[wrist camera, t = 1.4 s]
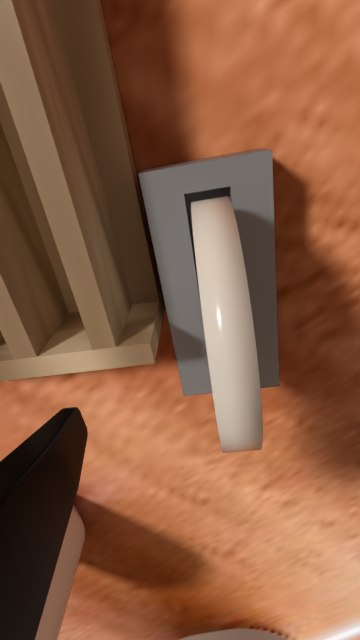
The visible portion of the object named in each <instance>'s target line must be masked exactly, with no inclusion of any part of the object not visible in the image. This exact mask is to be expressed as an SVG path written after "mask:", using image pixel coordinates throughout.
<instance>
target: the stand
mask: <svg viewBox="0 0 360 640" xmlns="http://www.w3.org/2000/svg"><path fill="white" fill-rule="evenodd" d="M138 175H139V180H140V185H141V189H142V194H143V199H144V204H145V209H146V214H147V219H148V224H149V228H150V233H151V238H152V243H153V248H154V253H155V258H156V263H157V267H158V272H159V277H160V282H161V287H162V292H163V297H164V302H165V306H166V311H167V316H168V321H169V326H170V331H171V336H172V341H173V346H174V350H175V355H176V360H177V365H178V370H179V375H180V380H181V385H182V389H183V394H184V396H188V395H198V394H208V393H212V386H211V379H210V371H209V364H208V357H207V349H206V341H205V334H204V326H203V318H202V310H201V302H200V293H199V285H198V276H197V267H196V258H195V248H194V238H193V228H192V215H191V202H195V201H201V200H207V199H213V198H219V197H225V196H228V197H229V199H230V201H231V204H232V207H233V210H234V214H235V218H236V222H237V227H238V232H239V236H240V242H241V247H242V252H243V258H244V264H245V270H246V276H247V282H248V289H249V296H250V303H251V310H252V317H253V325H254V333H255V341H256V350H257V359H258V368H259V379H260V388H266V387H276V386H279V354H278V322H277V290H276V258H275V226H274V193H273V161H272V150H271V149H255V150H249V151H244V152H238V153H233V154H227V155H221V156H216V157H210V158H205V159H199V160H194V161H188V162H183V163H177V164H172V165H166V166H160V167H155V168H149V169H146V170H144V171H142V172H140V173H138Z"/></svg>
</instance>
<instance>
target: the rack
mask: <svg viewBox="0 0 360 640" xmlns="http://www.w3.org/2000/svg"><path fill="white" fill-rule="evenodd" d="M163 315H164V305H163V300H162V295H161V291H160V286H159V281H158V276H157V271H156V266H155V262H154V257H153V252H152V247H151V242H150V238H149V233H148V228H147V223H146V218H145V213H144V209H143V204H142V199H141V194H140V189H139V185H138V180H137V175H136V170H135V165H134V160H133V156H132V151H131V146H130V141H129V136H128V132H127V127H126V122H125V117H124V112H123V108H122V103H121V98H120V93H119V88H118V83H117V79H116V74H115V69H114V64H113V59H112V55H111V50H110V45H109V40H108V35H107V30H106V26H105V21H104V16H103V11H102V6H101V2H100V0H0V381H7V380H15V379H24V378H33V377H42V376H50V375H59V374H68V373H77V372H85V371H94V370H103V369H112V368H120V367H129V366H138V365H147V364H155V360H156V355H157V349H158V343H159V338H160V332H161V326H162V321H163Z"/></svg>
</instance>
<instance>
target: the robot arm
mask: <svg viewBox="0 0 360 640" xmlns="http://www.w3.org/2000/svg"><path fill="white" fill-rule="evenodd" d="M87 434H88V433H87V427H86V425H85V422H84V420H83V417H82V415H81V412H80V410H79V409H78V408H76V407H71V408H64V409H62V410H60V411H59V412H58V413H57V414H56V415H55V416H53V417H52V418H51V419H50V420H49V421H47V422H46V423H45V424H44V425H43V426H42V427H40V428H39V429H38V430H37V431H36V432H35V433H33V434H32V435H31V436H30V437H29V438H28V439H26V440H25V441H24V442H23V443H22V444H21V445H19V446H18V447H17V448H16V449H15V450H14V451H12V452H11V453H10V454H9V455H8V456H7V457H5V458H4V459H3V460H2V461H1V462H0V640H35V638H36V634H37V631H38V627H39V624H40V620H41V617H42V613H43V610H44V606H45V603H46V599H47V596H48V593H49V589H50V586H51V582H52V579H53V575H54V572H55V568H56V565H57V561H58V558H59V554H60V551H61V547H62V544H63V540H64V537H65V533H66V530H67V526H68V523H69V519H70V516H71V512H72V509H73V505H74V502H75V498H76V494H77V491H78V486H79V481H80V476H81V470H82V464H83V459H84V453H85V447H86V442H87Z"/></svg>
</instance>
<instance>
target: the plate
mask: <svg viewBox="0 0 360 640" xmlns="http://www.w3.org/2000/svg"><path fill="white" fill-rule="evenodd" d="M191 215H192V228H193V238H194V248H195V258H196V267H197V276H198V285H199V293H200V302H201V310H202V318H203V326H204V334H205V341H206V349H207V357H208V364H209V371H210V379H211V386H212V393H213V399H214V406H215V413H216V419H217V426H218V431H219V437H220V443H221V447H222V451H223V453H229V452H241V451H253V450H261V448H262V441H263V421H262V403H261V390H260V379H259V368H258V359H257V350H256V341H255V333H254V325H253V317H252V310H251V303H250V296H249V289H248V282H247V276H246V270H245V264H244V258H243V252H242V247H241V242H240V236H239V232H238V227H237V222H236V218H235V214H234V210H233V207H232V204H231V201H230V199H229V197H228V196H225V197H219V198H213V199H207V200H201V201H195V202H191Z"/></svg>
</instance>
